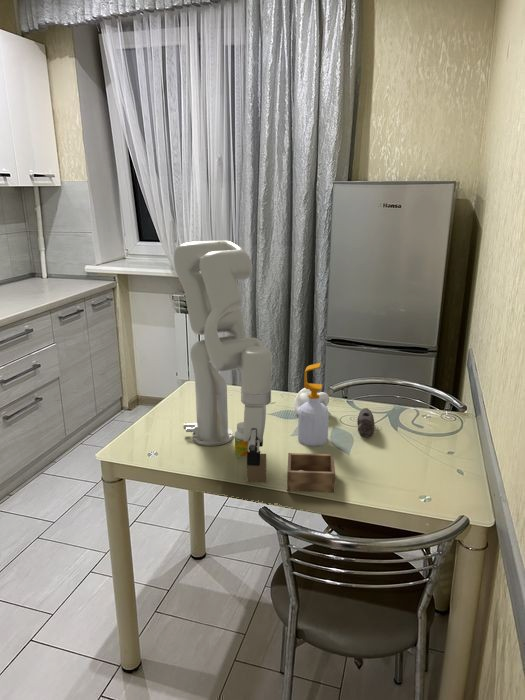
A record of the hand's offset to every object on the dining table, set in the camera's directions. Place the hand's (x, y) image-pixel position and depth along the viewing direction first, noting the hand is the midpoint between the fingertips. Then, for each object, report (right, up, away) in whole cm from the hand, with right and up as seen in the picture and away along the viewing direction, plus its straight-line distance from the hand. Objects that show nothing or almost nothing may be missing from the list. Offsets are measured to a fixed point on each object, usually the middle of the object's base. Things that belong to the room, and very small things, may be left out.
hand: (255, 455), depth 139 cm
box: (+15, -7, 0) cm, 16 cm away
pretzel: (+18, +5, +42) cm, 46 cm away
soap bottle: (+17, 0, +24) cm, 30 cm away
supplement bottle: (-3, -3, +15) cm, 16 cm away
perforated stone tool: (+35, +2, +30) cm, 46 cm away
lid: (0, -8, +1) cm, 8 cm away
